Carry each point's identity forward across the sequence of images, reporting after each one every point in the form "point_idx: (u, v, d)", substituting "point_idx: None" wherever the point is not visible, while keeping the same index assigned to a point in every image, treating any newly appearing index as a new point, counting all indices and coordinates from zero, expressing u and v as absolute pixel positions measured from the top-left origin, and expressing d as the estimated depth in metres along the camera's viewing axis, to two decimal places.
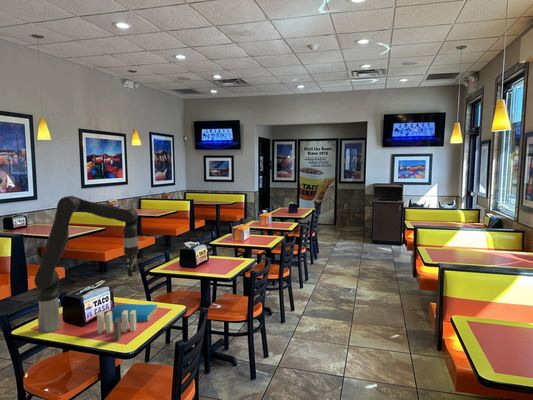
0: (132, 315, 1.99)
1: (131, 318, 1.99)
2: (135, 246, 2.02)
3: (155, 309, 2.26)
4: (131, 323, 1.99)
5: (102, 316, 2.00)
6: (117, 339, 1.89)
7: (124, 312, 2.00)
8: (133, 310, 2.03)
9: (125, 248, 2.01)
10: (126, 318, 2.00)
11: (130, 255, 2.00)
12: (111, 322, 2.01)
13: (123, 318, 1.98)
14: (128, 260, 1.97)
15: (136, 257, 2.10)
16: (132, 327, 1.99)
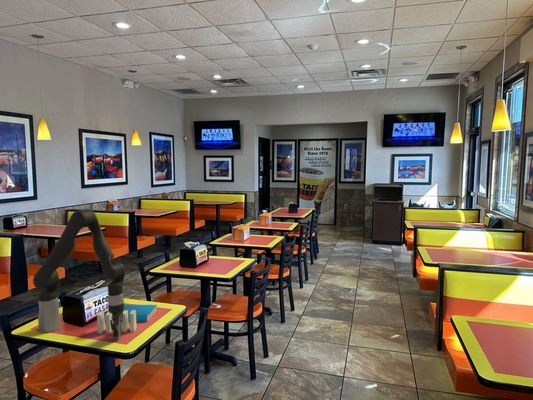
0: (132, 315, 1.99)
1: (131, 318, 1.99)
2: (120, 304, 1.88)
3: (155, 309, 2.25)
4: (131, 323, 1.99)
5: (102, 316, 2.00)
6: (117, 339, 1.89)
7: (124, 312, 2.00)
8: (133, 310, 2.03)
9: (109, 306, 1.87)
10: (126, 318, 2.00)
11: (115, 314, 1.87)
12: None
13: (123, 318, 1.98)
14: (113, 322, 1.84)
15: (122, 315, 1.96)
16: (132, 327, 1.99)
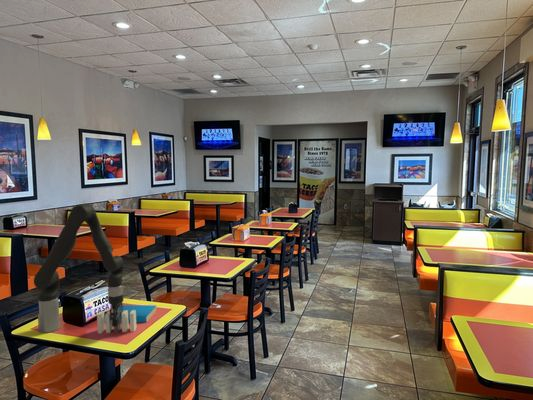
0: (132, 315, 1.99)
1: (131, 318, 1.99)
2: (120, 295, 1.97)
3: (154, 310, 2.25)
4: (131, 323, 1.99)
5: (102, 316, 2.00)
6: (117, 331, 1.99)
7: (124, 312, 2.00)
8: (133, 310, 2.03)
9: (109, 297, 1.96)
10: (126, 318, 2.00)
11: (114, 304, 1.96)
12: (111, 322, 2.01)
13: (123, 318, 1.98)
14: (112, 311, 1.93)
15: (121, 304, 2.06)
16: (132, 327, 1.99)
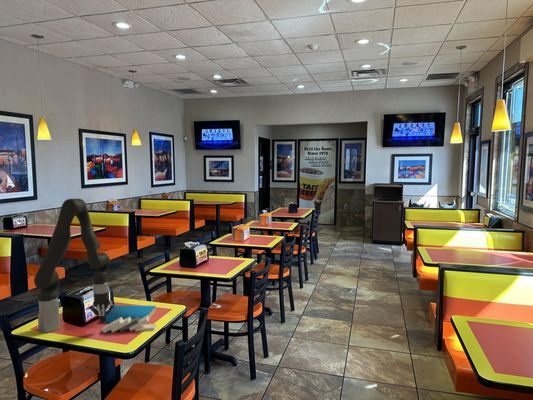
0: None
1: (149, 329, 2.01)
2: (94, 293, 1.95)
3: (153, 310, 2.24)
4: (143, 329, 2.00)
5: None
6: (122, 330, 1.99)
7: (147, 318, 2.03)
8: (155, 325, 2.05)
9: None
10: None
11: (94, 300, 1.98)
12: None
13: (142, 322, 2.00)
14: None
15: None
16: (139, 330, 2.00)
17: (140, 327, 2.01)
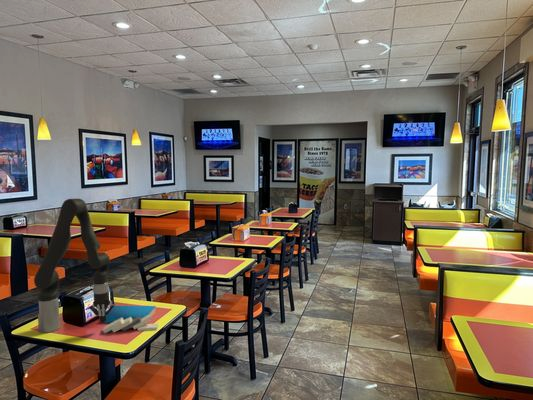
0: None
1: (151, 329, 2.01)
2: (94, 293, 1.95)
3: (153, 310, 2.24)
4: (146, 329, 2.01)
5: None
6: (124, 330, 2.00)
7: (150, 317, 2.06)
8: None
9: None
10: None
11: (94, 300, 1.98)
12: None
13: (147, 320, 2.04)
14: None
15: None
16: (142, 330, 2.01)
17: (143, 327, 2.02)
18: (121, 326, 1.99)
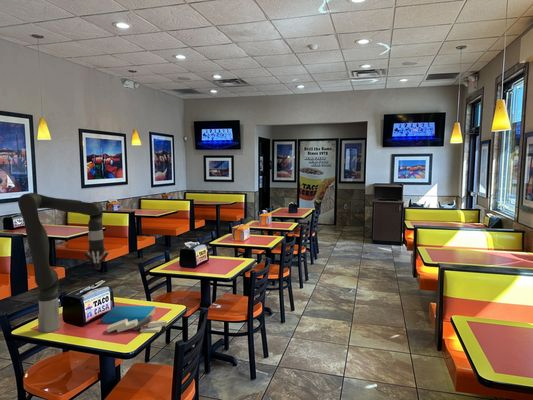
0: None
1: (153, 331, 1.98)
2: (89, 240, 2.00)
3: (153, 311, 2.23)
4: (148, 331, 1.99)
5: None
6: (135, 329, 2.00)
7: None
8: (161, 328, 2.03)
9: None
10: None
11: (89, 247, 2.03)
12: None
13: (162, 323, 2.03)
14: None
15: (103, 256, 2.04)
16: None
17: (145, 328, 2.00)
18: (126, 327, 1.99)
